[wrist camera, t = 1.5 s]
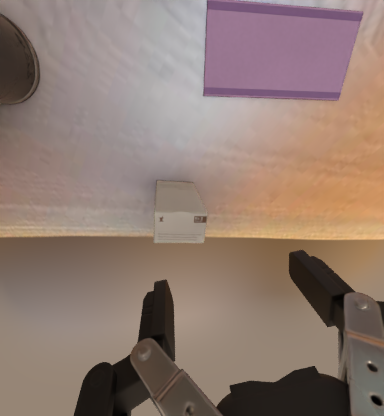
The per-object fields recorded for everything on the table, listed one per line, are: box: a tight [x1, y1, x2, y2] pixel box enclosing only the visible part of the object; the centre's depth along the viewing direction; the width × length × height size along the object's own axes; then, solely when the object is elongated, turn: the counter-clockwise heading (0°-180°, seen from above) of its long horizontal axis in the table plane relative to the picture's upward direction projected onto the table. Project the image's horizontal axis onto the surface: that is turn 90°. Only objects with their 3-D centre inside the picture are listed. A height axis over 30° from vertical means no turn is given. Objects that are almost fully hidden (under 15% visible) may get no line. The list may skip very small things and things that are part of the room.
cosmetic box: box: [153, 180, 208, 243], centre depth 28 cm, size 6×4×12 cm
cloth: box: [204, 0, 363, 100], centre depth 27 cm, size 20×10×1 cm, turn 89°
